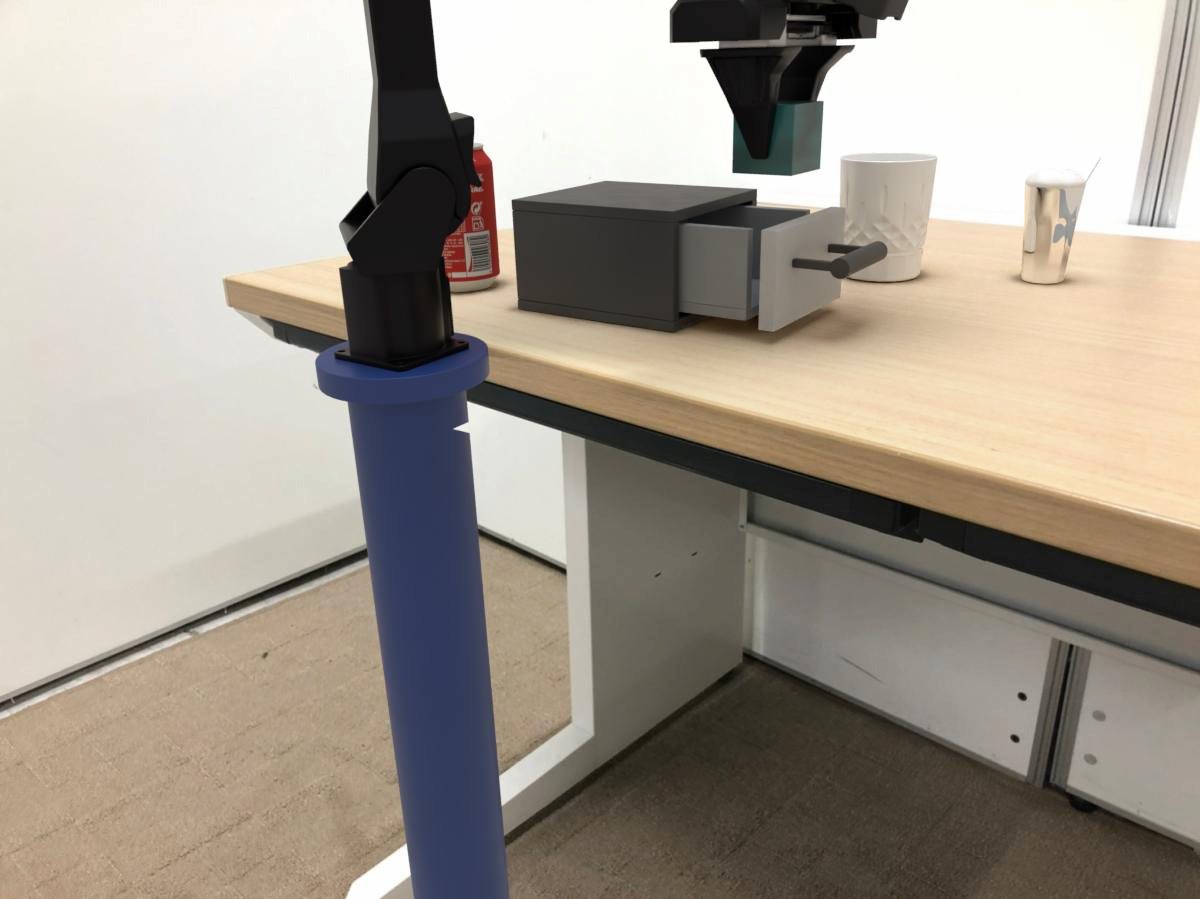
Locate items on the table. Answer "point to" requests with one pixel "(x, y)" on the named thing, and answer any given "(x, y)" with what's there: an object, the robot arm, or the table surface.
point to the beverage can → (475, 235)
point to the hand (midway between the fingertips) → (776, 155)
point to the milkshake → (1050, 222)
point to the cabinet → (610, 250)
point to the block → (785, 142)
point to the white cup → (888, 209)
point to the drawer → (766, 262)
